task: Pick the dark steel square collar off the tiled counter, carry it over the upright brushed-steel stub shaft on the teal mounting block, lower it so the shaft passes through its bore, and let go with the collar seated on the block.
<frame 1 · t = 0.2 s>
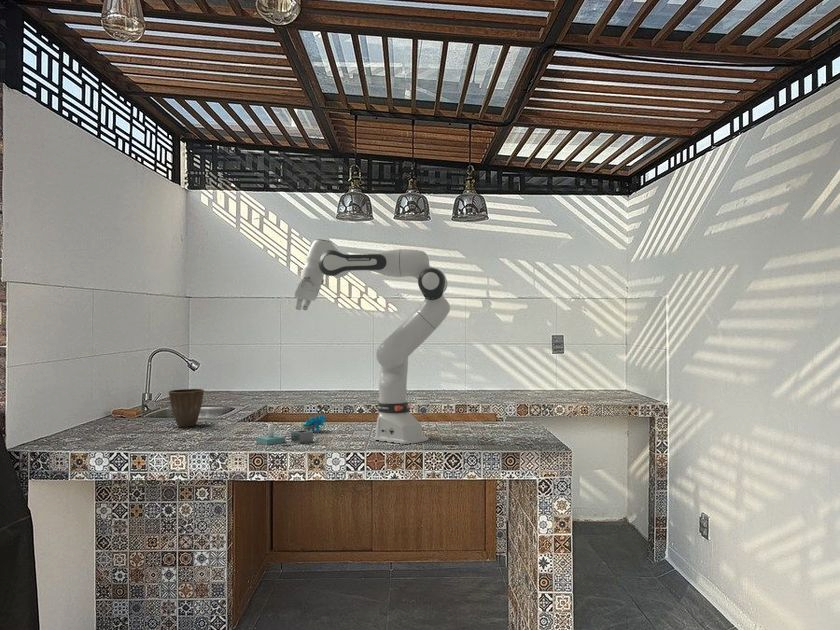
hand: (301, 309, 265), 51 cm above the worktop, tool tilted 20°, fingers open, 8 cm apart
collar: (302, 441, 252), on the worktop
blue toy dinosaur: (313, 432, 274), on the worktop
shaft block: (270, 442, 252), on the worktop
plant pot: (186, 426, 292), on the worktop
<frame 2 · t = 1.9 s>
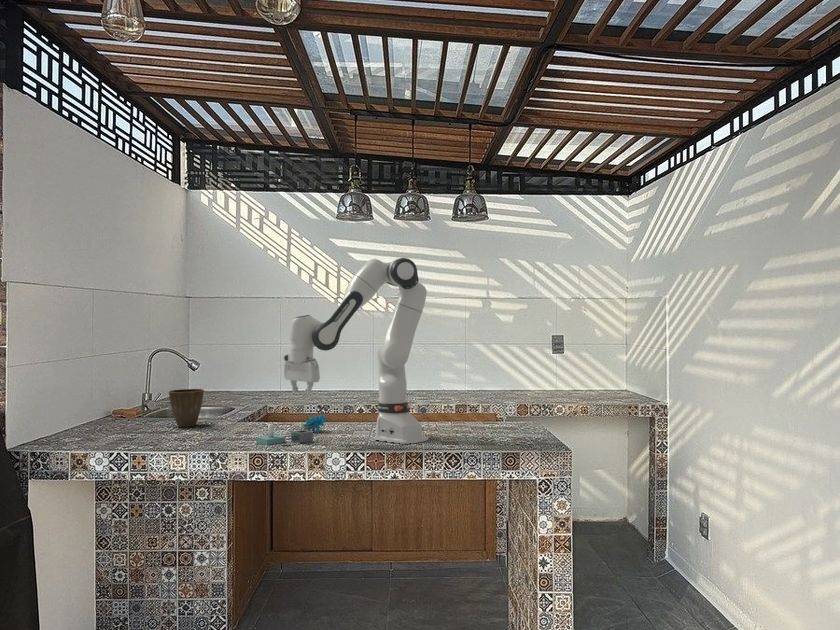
hand: (301, 392, 252), 19 cm above the worktop, tool pointing down, fingers open, 8 cm apart
nothing on the worktop moved.
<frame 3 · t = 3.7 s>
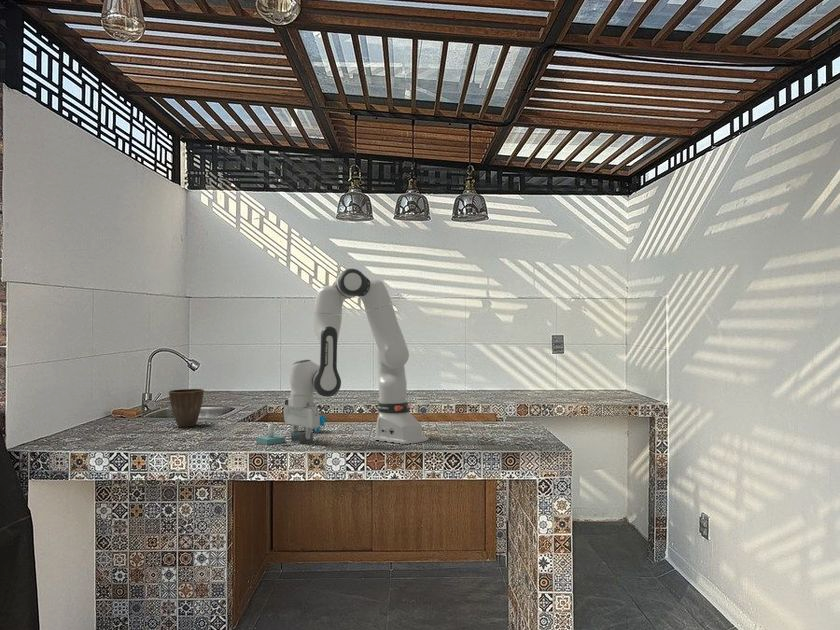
hand: (302, 437, 252), 2 cm above the worktop, tool pointing down, fingers closed on collar, 6 cm apart
collar: (302, 441, 252), on the worktop, touching gripper
everything else where it was.
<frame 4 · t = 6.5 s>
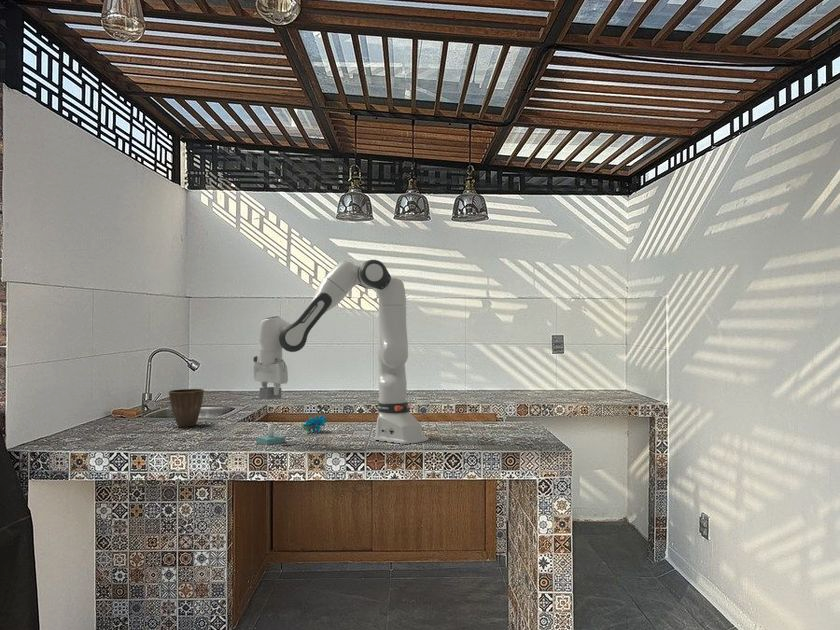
hand: (270, 394, 252), 19 cm above the worktop, tool pointing down, fingers closed on collar, 6 cm apart
collar: (270, 398, 252), point 17 cm above the worktop, touching gripper
everything else where it was.
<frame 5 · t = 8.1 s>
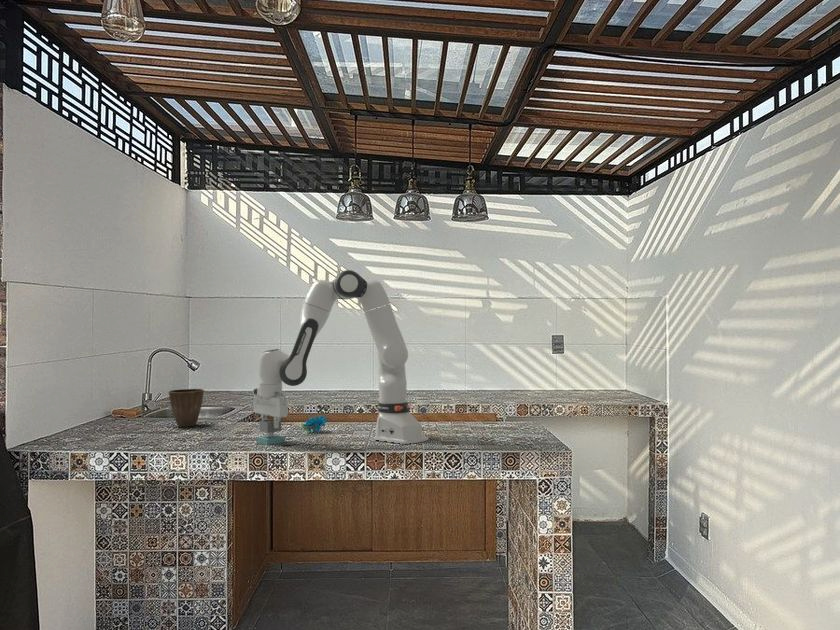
hand: (270, 426, 252), 6 cm above the worktop, tool pointing down, fingers closed on collar, 6 cm apart
collar: (270, 431, 252), point 4 cm above the worktop, touching gripper
everything else where it was.
when the fingers open (5 cm above the worktop, at t = 9.3 s): collar stays where it is, resting on shaft block.
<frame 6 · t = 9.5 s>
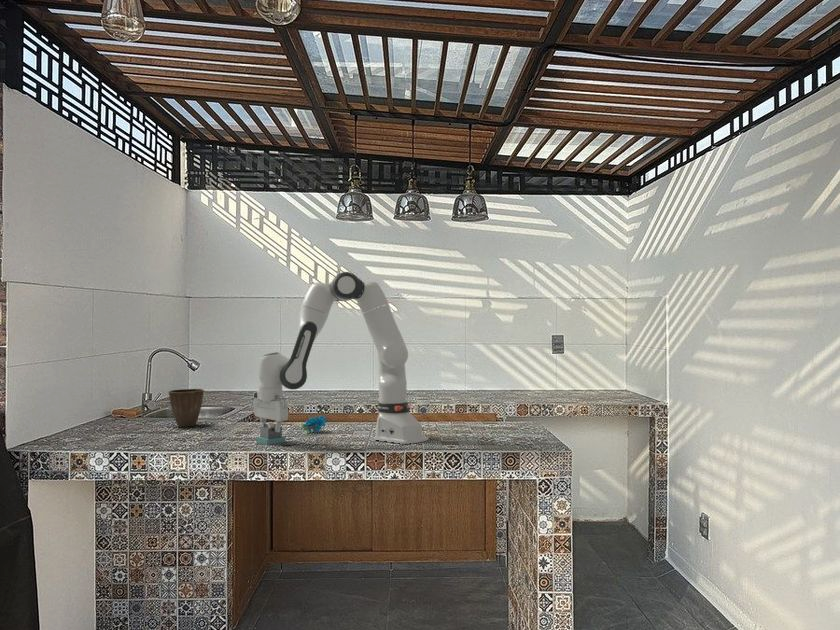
hand: (270, 430, 252), 5 cm above the worktop, tool pointing down, fingers open, 8 cm apart
collar: (271, 437, 252), point 2 cm above the worktop, touching shaft block
everything else where it was.
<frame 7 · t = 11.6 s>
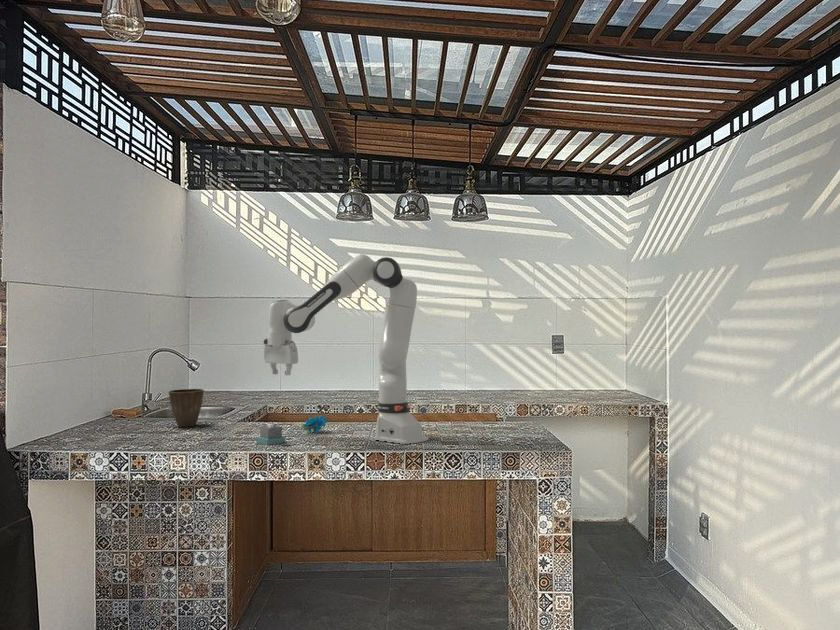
hand: (281, 374, 261), 25 cm above the worktop, tool pointing down, fingers open, 8 cm apart
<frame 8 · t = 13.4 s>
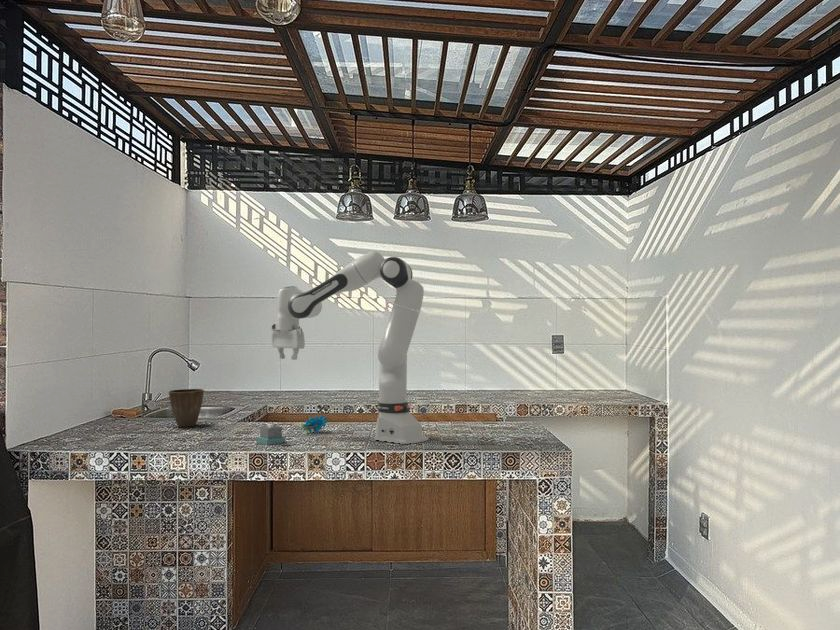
hand: (288, 359, 269), 31 cm above the worktop, tool pointing down, fingers open, 8 cm apart
at the end: collar 0.1 cm off-centre on the shaft block, point 2.0 cm above the shaft block's base; the gripper is holding nothing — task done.
